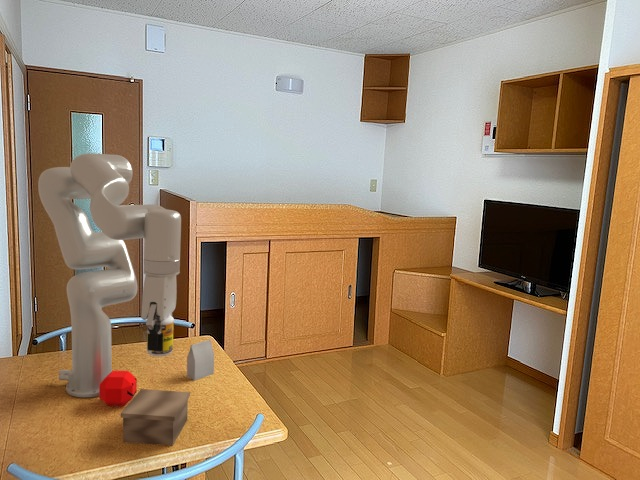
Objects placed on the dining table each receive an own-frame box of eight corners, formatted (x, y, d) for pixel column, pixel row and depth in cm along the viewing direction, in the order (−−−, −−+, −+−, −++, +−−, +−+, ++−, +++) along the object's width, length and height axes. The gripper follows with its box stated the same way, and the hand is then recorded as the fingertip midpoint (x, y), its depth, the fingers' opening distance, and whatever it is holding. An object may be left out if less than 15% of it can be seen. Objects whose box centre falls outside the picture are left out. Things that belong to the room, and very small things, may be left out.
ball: (130, 410, 124) (130, 381, 123) (96, 409, 123) (96, 380, 122) (138, 395, 132) (138, 367, 131) (107, 394, 131) (107, 367, 130)
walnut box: (120, 443, 110) (120, 413, 109) (140, 416, 121) (141, 388, 120) (174, 446, 110) (174, 416, 109) (189, 419, 121) (189, 392, 120)
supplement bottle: (150, 359, 109) (151, 314, 107) (143, 350, 114) (144, 306, 112) (176, 355, 112) (177, 311, 110) (168, 346, 117) (169, 304, 115)
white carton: (213, 373, 148) (214, 341, 146) (194, 380, 142) (195, 347, 141) (205, 370, 150) (206, 337, 148) (186, 376, 145) (187, 343, 143)
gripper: (157, 257, 118) (156, 330, 121) (129, 274, 101) (128, 359, 104) (189, 259, 118) (187, 332, 121) (166, 277, 101) (164, 361, 104)
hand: (160, 344), depth 112 cm, fingers closed on supplement bottle, 5 cm apart
